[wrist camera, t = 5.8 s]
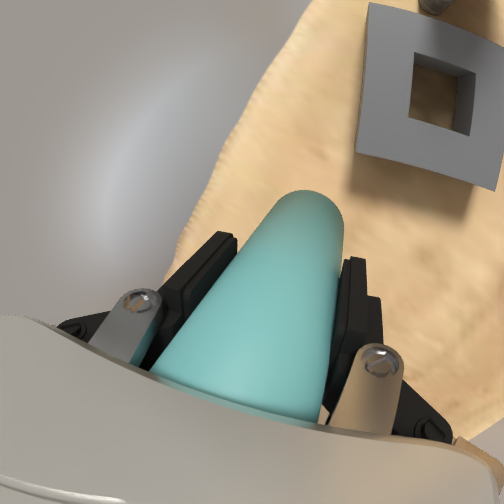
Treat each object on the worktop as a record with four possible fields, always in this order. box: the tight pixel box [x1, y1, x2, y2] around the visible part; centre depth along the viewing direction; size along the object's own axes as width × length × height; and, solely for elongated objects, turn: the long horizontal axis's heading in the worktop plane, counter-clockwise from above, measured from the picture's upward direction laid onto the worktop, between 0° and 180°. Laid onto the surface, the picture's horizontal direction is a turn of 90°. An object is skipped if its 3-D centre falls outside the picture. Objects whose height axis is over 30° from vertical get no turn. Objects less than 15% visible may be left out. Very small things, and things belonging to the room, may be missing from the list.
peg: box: [149, 190, 344, 424], centre depth 10 cm, size 4×4×14 cm
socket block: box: [354, 2, 504, 192], centre depth 20 cm, size 14×14×5 cm
